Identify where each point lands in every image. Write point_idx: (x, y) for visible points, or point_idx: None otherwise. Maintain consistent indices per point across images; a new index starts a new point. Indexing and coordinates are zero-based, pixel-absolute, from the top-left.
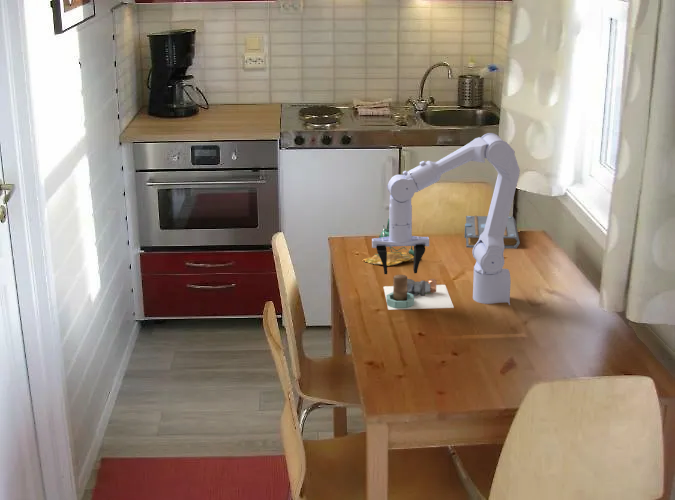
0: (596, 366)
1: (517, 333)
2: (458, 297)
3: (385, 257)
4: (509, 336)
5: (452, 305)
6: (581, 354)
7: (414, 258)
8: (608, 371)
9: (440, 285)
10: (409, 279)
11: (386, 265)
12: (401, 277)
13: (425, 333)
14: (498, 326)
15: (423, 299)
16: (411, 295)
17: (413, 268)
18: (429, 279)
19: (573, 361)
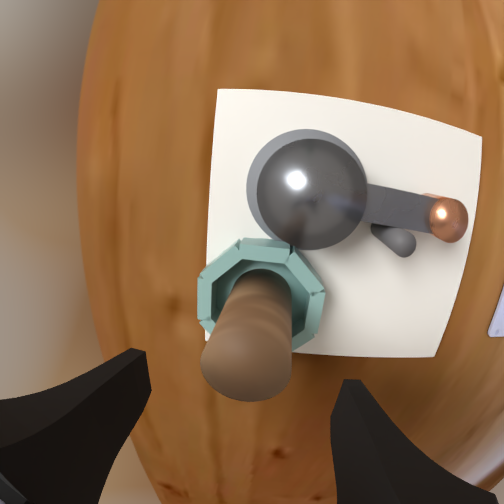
0: None
1: (463, 445)
2: (487, 247)
3: (92, 492)
4: (444, 455)
5: (438, 341)
6: (476, 476)
7: (362, 464)
8: None
9: (467, 139)
10: (345, 159)
11: (122, 442)
12: (251, 374)
13: (291, 453)
14: (458, 426)
15: (369, 274)
16: (314, 303)
17: (346, 391)
18: (444, 203)
19: None
